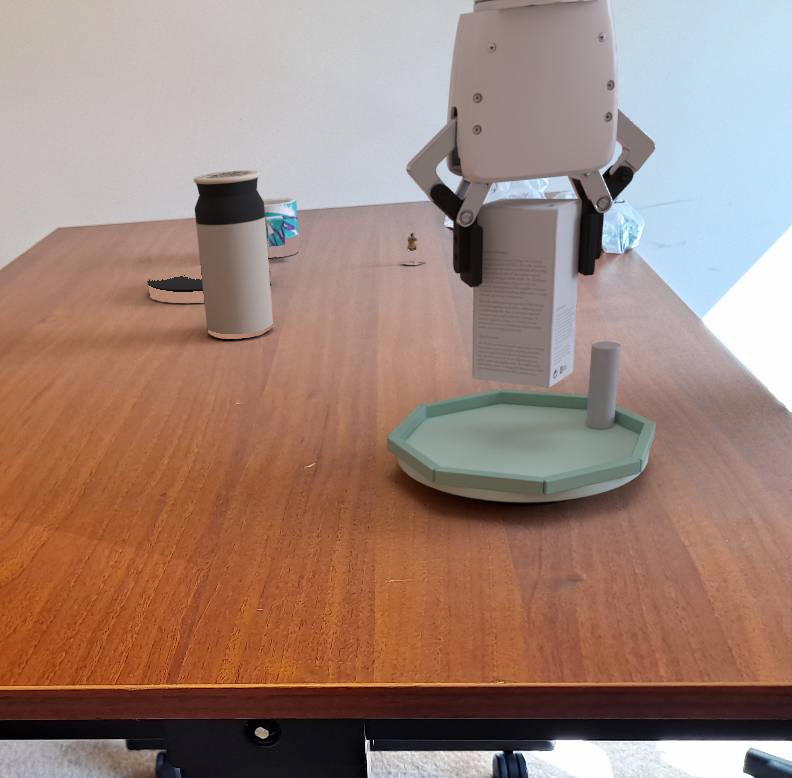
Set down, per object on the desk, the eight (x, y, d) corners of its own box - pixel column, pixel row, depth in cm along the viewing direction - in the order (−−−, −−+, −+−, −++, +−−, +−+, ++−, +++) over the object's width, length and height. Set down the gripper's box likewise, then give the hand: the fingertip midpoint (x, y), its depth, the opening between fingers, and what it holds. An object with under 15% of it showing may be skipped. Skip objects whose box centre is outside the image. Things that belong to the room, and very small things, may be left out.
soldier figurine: (421, 263, 145) (421, 232, 143) (416, 264, 144) (416, 234, 142) (410, 262, 147) (409, 231, 145) (405, 263, 146) (404, 233, 144)
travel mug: (285, 326, 118) (275, 169, 110) (250, 343, 113) (235, 179, 105) (232, 322, 122) (217, 170, 115) (194, 338, 117) (177, 180, 109)
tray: (705, 469, 67) (718, 371, 64) (471, 523, 62) (473, 420, 59) (553, 398, 82) (558, 316, 79) (358, 437, 78) (355, 352, 75)
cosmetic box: (574, 373, 70) (585, 197, 64) (549, 390, 67) (558, 208, 61) (496, 363, 73) (501, 196, 68) (468, 379, 70) (471, 206, 65)
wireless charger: (294, 278, 143) (293, 264, 142) (223, 307, 130) (222, 292, 129) (198, 273, 152) (196, 260, 151) (123, 300, 140) (121, 286, 139)
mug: (297, 247, 165) (294, 196, 162) (304, 260, 155) (301, 205, 151) (249, 252, 165) (244, 200, 162) (253, 265, 155) (248, 210, 151)
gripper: (651, -28, 62) (627, 255, 70) (383, -3, 62) (389, 279, 70) (708, -39, 56) (675, 275, 64) (408, -11, 55) (412, 302, 63)
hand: (525, 275), depth 67 cm, fingers closed on cosmetic box, 7 cm apart
